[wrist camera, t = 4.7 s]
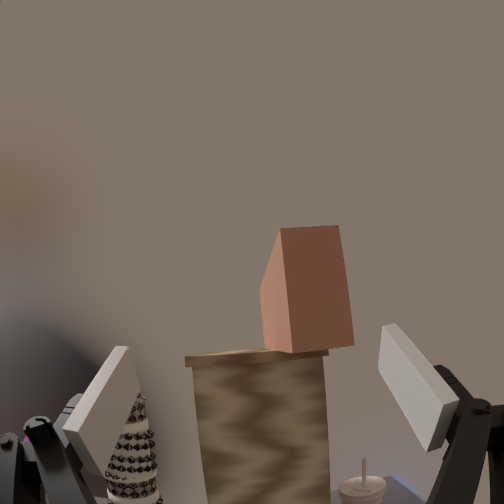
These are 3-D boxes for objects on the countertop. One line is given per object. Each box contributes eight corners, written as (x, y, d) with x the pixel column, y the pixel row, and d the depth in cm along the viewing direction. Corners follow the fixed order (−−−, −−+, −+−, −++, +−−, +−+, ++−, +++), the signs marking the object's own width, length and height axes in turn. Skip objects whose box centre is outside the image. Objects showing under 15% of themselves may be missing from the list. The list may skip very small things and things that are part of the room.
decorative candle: (110, 544, 28) (78, 391, 34) (118, 518, 36) (94, 384, 43) (171, 547, 30) (145, 393, 37) (171, 519, 38) (150, 385, 45)
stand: (219, 591, 20) (184, 356, 28) (229, 533, 35) (209, 352, 43) (334, 582, 20) (327, 344, 28) (316, 526, 35) (305, 344, 43)
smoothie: (347, 553, 26) (348, 472, 30) (332, 533, 32) (330, 456, 36) (391, 539, 27) (396, 457, 30) (372, 521, 33) (373, 445, 36)
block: (292, 353, 19) (279, 228, 21) (264, 348, 42) (259, 289, 44) (354, 345, 19) (338, 225, 22) (294, 345, 42) (288, 287, 45)
